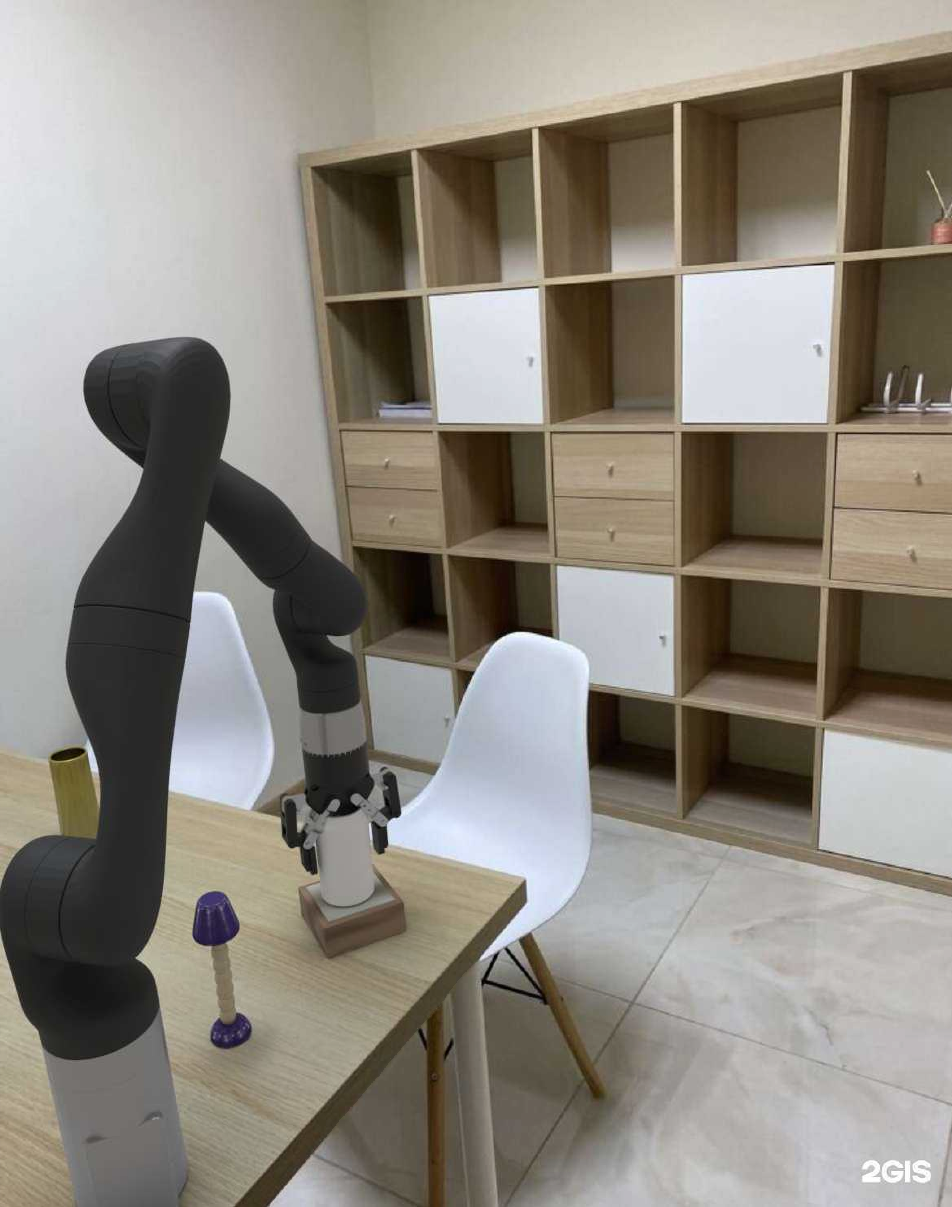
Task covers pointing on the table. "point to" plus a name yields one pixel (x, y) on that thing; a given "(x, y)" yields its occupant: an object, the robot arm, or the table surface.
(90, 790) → the vase
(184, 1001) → the table surface
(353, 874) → the can
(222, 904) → the toy lamp
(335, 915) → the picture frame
